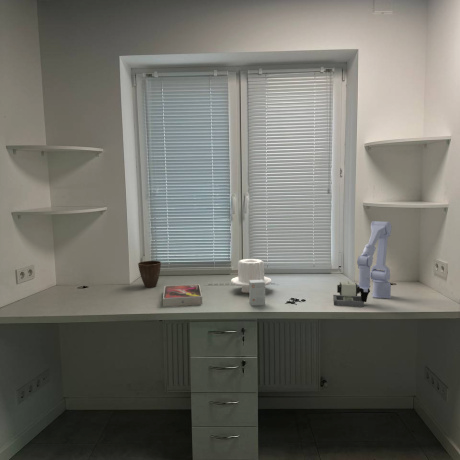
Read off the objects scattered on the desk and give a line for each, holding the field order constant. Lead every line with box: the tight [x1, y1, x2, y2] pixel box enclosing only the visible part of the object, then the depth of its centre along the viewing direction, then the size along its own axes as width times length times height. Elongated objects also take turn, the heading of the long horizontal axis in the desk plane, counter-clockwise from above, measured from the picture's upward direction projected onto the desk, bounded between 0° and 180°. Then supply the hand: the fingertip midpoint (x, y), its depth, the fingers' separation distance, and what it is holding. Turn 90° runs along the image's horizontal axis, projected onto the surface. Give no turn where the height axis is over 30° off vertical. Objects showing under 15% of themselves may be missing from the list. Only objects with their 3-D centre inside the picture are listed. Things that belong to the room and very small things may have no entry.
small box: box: [248, 280, 266, 307], centre depth 213 cm, size 8×6×13 cm
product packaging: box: [162, 283, 203, 307], centre depth 227 cm, size 22×28×5 cm
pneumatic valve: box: [336, 281, 360, 301], centre depth 213 cm, size 6×12×12 cm, turn 78°
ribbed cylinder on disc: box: [230, 258, 272, 294], centre depth 241 cm, size 25×25×19 cm
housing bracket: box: [332, 294, 365, 308], centre depth 213 cm, size 16×12×2 cm
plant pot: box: [137, 260, 162, 289], centre depth 255 cm, size 15×15×16 cm
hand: (363, 301), depth 211 cm, fingers closed, pressing on pneumatic valve
